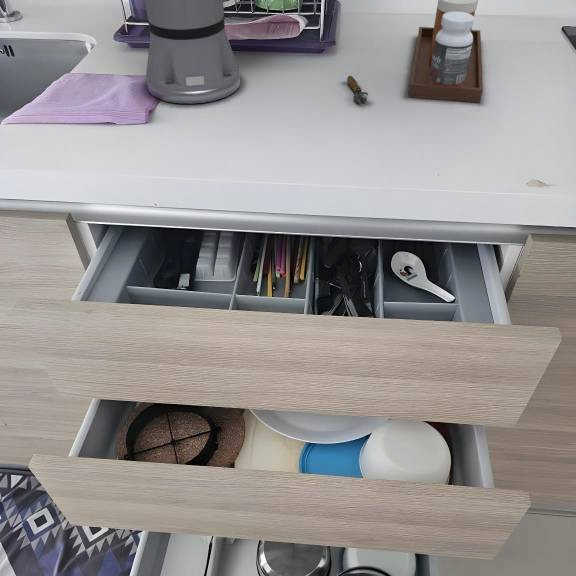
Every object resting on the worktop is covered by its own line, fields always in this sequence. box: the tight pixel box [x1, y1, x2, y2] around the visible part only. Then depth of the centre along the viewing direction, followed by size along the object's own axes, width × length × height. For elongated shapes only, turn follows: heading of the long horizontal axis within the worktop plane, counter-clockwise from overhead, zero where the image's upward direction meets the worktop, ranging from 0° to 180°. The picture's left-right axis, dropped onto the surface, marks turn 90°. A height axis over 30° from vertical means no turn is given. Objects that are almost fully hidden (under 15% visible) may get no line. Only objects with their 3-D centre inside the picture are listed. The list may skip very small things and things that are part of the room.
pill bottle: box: [428, 12, 475, 87], centre depth 91 cm, size 6×6×10 cm
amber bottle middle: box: [429, 0, 479, 66], centre depth 97 cm, size 6×6×10 cm
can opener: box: [346, 75, 369, 104], centre depth 93 cm, size 9×2×1 cm, turn 6°
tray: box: [407, 26, 484, 104], centre depth 100 cm, size 27×11×2 cm, turn 168°
